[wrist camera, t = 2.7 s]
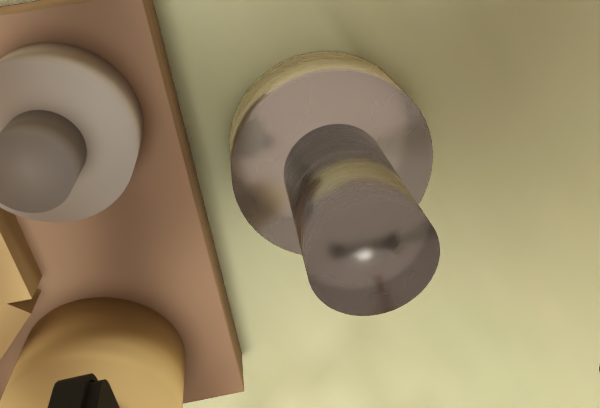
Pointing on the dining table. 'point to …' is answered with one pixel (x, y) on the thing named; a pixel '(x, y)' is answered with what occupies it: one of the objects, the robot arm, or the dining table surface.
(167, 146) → the carrier board
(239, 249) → the dining table surface
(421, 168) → the knobbed round disc
